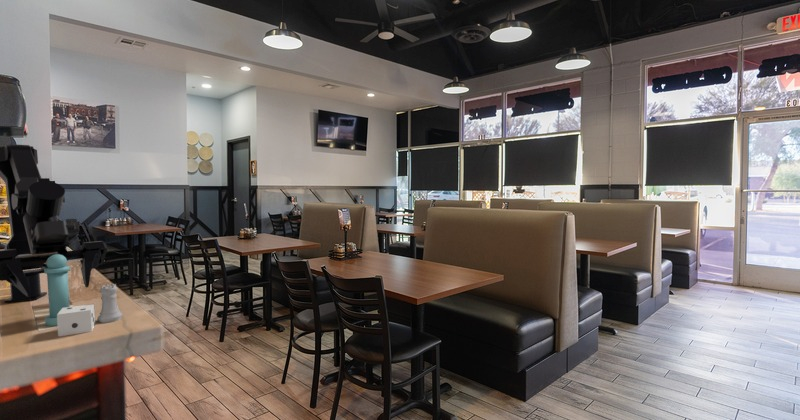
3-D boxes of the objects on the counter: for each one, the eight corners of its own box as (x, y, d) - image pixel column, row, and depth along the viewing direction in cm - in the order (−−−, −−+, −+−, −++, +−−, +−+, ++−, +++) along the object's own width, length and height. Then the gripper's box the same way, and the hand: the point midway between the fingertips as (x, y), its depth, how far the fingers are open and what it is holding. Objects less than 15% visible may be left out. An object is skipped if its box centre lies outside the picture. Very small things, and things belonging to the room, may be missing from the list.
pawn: (51, 320, 85) (47, 253, 85) (78, 318, 87) (74, 251, 86) (41, 327, 81) (36, 256, 80) (69, 324, 83) (65, 255, 82)
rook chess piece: (110, 327, 83) (107, 288, 83) (91, 326, 84) (89, 287, 84) (128, 320, 87) (126, 283, 87) (111, 319, 88) (108, 282, 88)
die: (64, 333, 81) (62, 307, 80) (96, 328, 83) (94, 303, 83) (58, 341, 76) (56, 314, 76) (92, 335, 79) (90, 309, 78)
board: (32, 309, 97) (32, 305, 97) (70, 303, 102) (70, 299, 102) (38, 334, 80) (38, 330, 79) (84, 325, 84) (84, 322, 84)
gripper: (-16, 209, 78) (-4, 274, 72) (102, 204, 93) (121, 258, 86) (-18, 247, 84) (-6, 310, 77) (94, 237, 98) (111, 290, 92)
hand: (59, 290), depth 83 cm, fingers open, 9 cm apart
